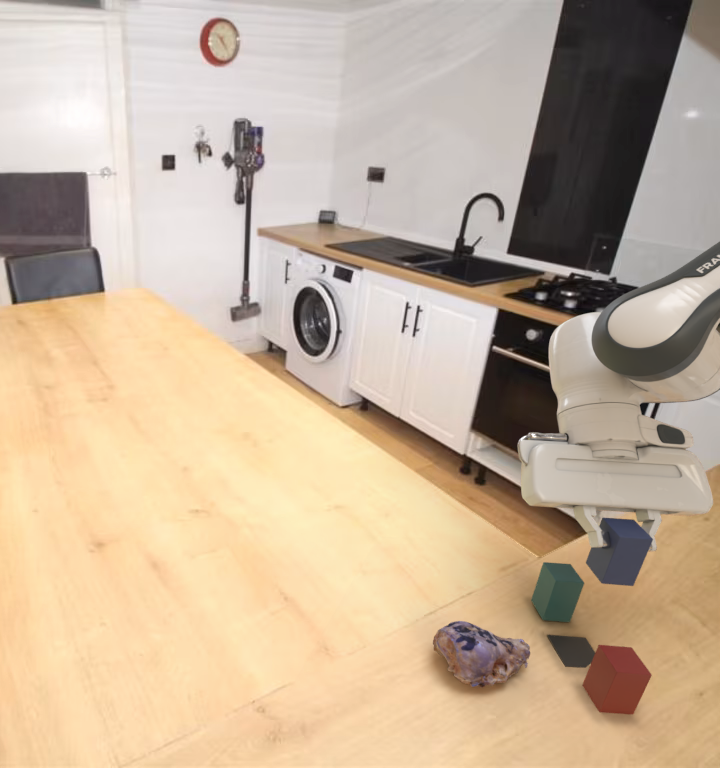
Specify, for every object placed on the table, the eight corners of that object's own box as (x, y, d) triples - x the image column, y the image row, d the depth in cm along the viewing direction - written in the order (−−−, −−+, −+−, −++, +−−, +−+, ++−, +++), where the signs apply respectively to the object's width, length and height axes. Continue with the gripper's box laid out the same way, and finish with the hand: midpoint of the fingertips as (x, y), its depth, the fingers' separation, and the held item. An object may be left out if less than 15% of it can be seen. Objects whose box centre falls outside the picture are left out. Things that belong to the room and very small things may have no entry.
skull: (513, 639, 71) (525, 606, 68) (545, 696, 64) (560, 663, 61) (421, 639, 71) (429, 606, 68) (443, 696, 64) (453, 663, 61)
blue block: (615, 565, 67) (634, 519, 64) (633, 586, 64) (653, 539, 61) (585, 562, 67) (602, 517, 65) (601, 584, 64) (619, 536, 61)
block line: (561, 602, 77) (575, 564, 74) (637, 719, 61) (658, 675, 58) (526, 599, 77) (538, 561, 74) (592, 714, 61) (611, 671, 59)
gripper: (527, 424, 66) (544, 540, 61) (706, 433, 65) (739, 554, 60) (504, 438, 72) (518, 545, 67) (668, 447, 70) (694, 557, 65)
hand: (623, 549), depth 63 cm, fingers closed on blue block, 3 cm apart
